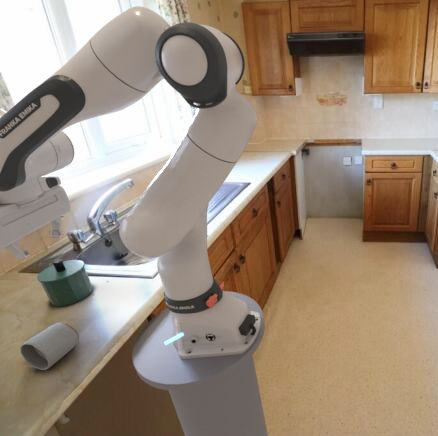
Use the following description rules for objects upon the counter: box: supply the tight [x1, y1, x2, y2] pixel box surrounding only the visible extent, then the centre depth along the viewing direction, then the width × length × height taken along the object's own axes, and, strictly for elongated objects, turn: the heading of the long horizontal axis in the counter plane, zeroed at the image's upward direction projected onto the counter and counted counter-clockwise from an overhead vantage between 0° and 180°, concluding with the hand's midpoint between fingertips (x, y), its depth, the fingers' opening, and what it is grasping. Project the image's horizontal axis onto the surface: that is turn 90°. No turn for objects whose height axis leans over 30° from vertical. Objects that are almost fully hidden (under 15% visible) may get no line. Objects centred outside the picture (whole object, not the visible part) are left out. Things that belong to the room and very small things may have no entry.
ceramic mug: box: [19, 321, 80, 371], centre depth 74 cm, size 11×8×8 cm
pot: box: [40, 267, 94, 307], centre depth 95 cm, size 10×10×8 cm
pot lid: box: [36, 258, 85, 283], centre depth 93 cm, size 11×11×4 cm
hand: (41, 246), depth 73 cm, fingers open, 8 cm apart
